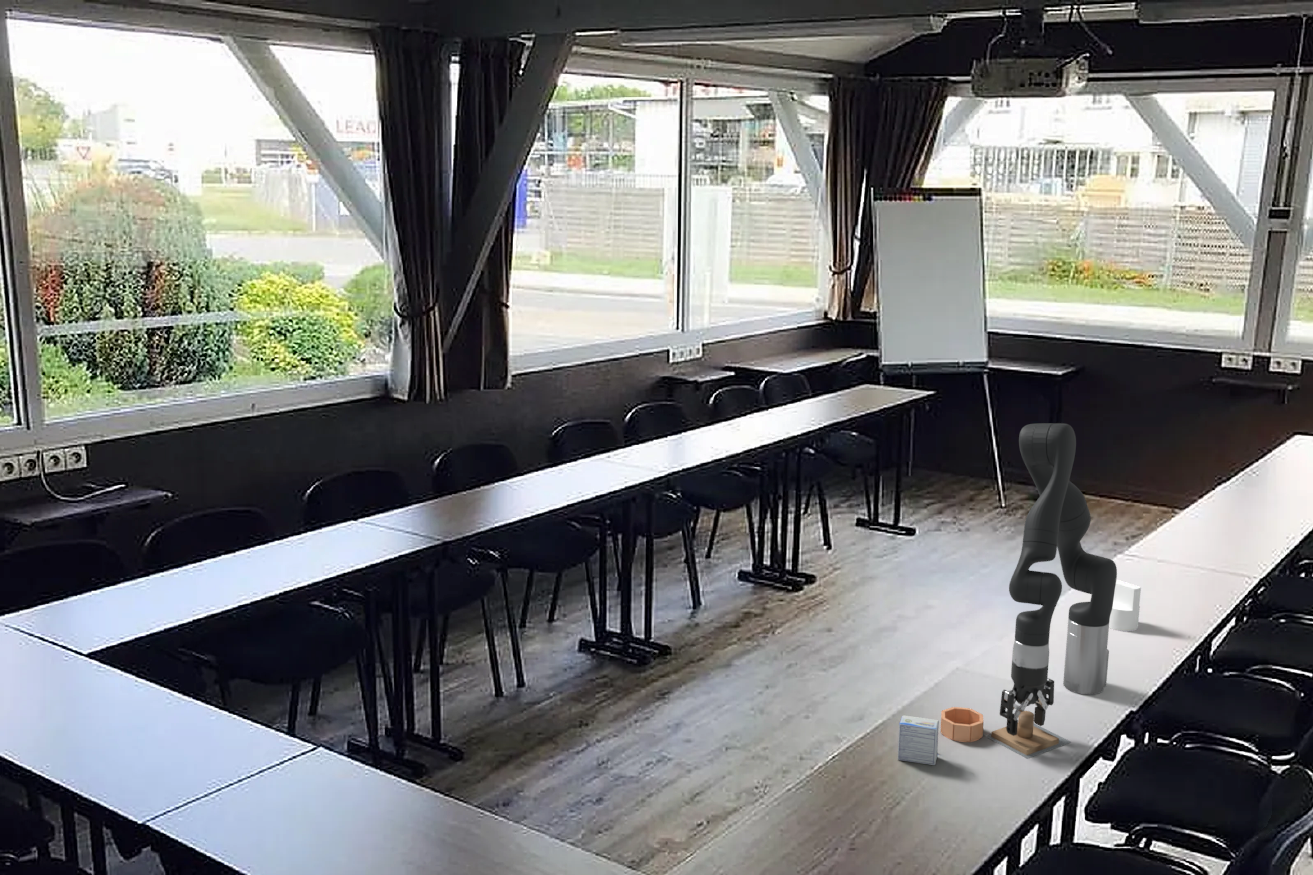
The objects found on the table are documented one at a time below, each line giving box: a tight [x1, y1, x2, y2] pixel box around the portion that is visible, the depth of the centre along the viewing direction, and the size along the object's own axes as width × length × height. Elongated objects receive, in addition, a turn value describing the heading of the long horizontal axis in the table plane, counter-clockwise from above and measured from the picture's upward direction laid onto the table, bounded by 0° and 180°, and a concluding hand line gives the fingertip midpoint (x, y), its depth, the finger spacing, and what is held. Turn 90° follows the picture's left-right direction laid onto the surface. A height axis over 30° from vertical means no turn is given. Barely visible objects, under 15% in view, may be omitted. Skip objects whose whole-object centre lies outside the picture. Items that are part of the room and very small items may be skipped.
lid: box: [990, 710, 1059, 755], centre depth 260 cm, size 10×10×6 cm
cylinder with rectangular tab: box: [1109, 578, 1142, 632], centre depth 325 cm, size 9×9×12 cm
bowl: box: [940, 706, 984, 743], centre depth 264 cm, size 9×9×4 cm
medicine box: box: [897, 714, 940, 766], centre depth 253 cm, size 8×4×9 cm, turn 71°
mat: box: [984, 723, 1072, 759], centre depth 261 cm, size 14×12×1 cm
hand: (1025, 729), depth 260 cm, fingers open, 8 cm apart
